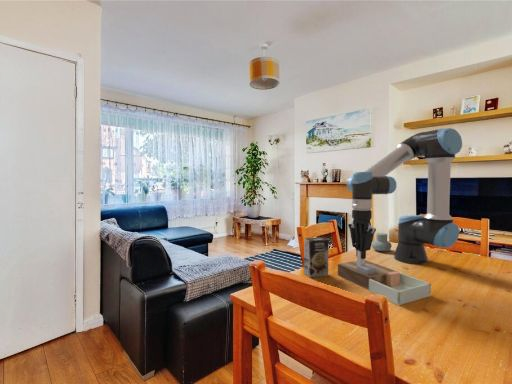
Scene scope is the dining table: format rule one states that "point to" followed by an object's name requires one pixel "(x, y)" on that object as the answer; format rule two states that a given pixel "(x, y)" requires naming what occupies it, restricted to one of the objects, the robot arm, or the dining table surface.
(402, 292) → the tray
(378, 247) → the air freshener
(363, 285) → the board
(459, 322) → the dining table surface
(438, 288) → the dining table surface
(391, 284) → the terracotta tile
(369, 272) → the slate tile
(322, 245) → the coffee box
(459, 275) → the dining table surface
